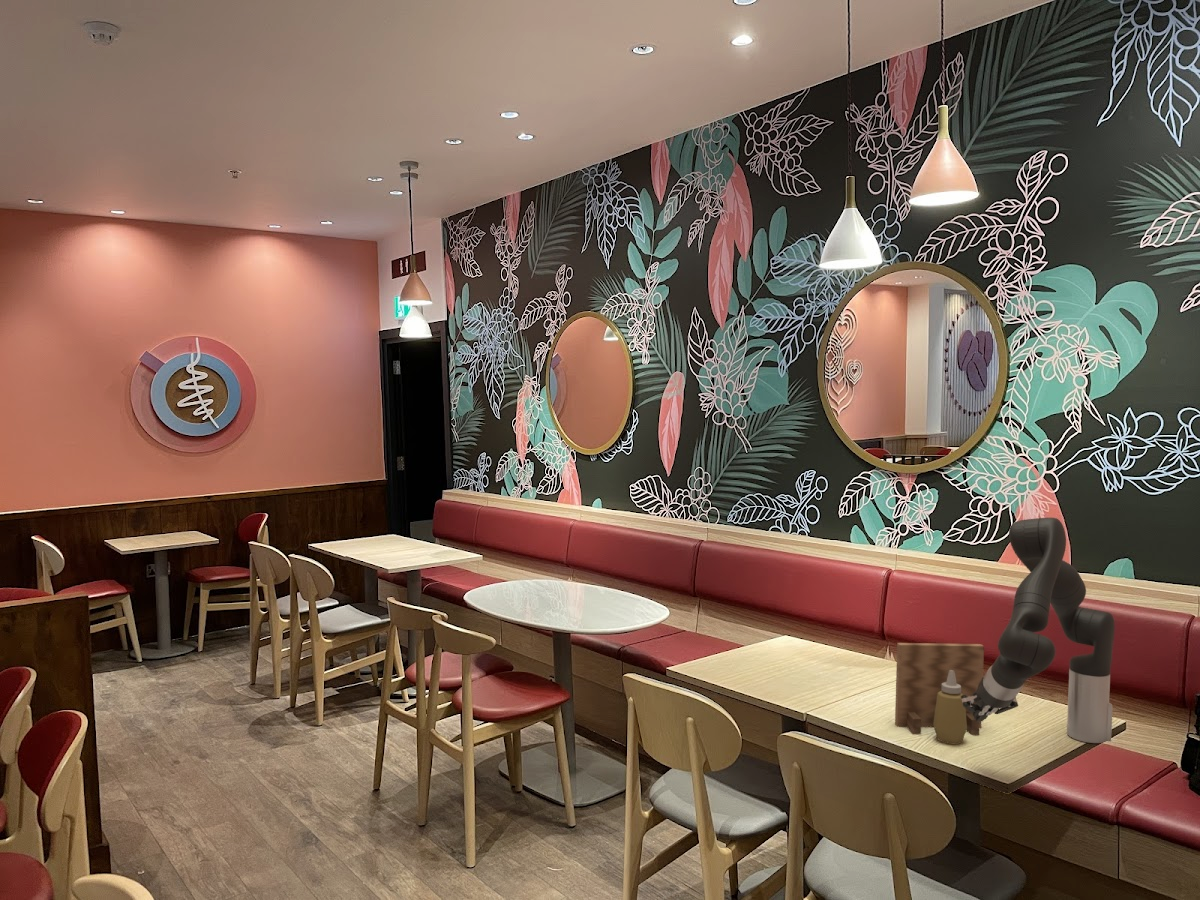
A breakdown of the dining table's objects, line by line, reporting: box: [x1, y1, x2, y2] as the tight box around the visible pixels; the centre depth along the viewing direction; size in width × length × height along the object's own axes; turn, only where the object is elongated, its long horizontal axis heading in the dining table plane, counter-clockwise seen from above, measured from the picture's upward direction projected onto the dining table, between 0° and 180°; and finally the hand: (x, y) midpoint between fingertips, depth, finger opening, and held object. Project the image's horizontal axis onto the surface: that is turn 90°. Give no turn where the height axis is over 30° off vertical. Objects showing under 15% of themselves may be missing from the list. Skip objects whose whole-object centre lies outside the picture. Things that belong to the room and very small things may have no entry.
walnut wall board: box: [894, 642, 985, 736], centre depth 233 cm, size 22×7×22 cm, turn 88°
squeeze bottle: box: [933, 670, 967, 745], centre depth 226 cm, size 8×8×18 cm
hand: (977, 717), depth 210 cm, fingers closed
